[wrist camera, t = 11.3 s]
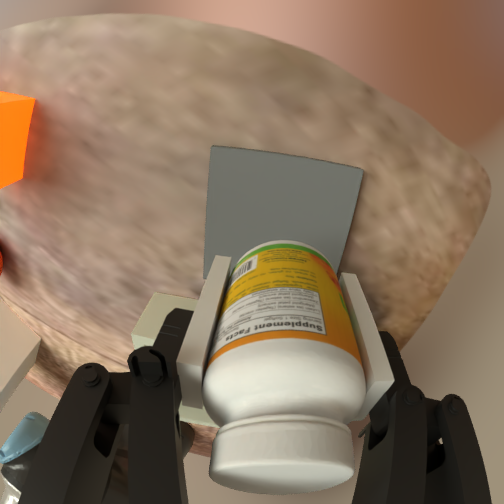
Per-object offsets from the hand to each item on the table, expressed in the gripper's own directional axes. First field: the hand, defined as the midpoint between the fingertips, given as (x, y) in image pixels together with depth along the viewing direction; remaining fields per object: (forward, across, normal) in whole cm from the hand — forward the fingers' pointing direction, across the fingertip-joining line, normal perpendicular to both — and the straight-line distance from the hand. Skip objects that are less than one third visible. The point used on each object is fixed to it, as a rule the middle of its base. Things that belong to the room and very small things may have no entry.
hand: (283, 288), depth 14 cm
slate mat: (+9, 0, 0) cm, 9 cm away
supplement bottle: (+1, 0, 0) cm, 1 cm away
